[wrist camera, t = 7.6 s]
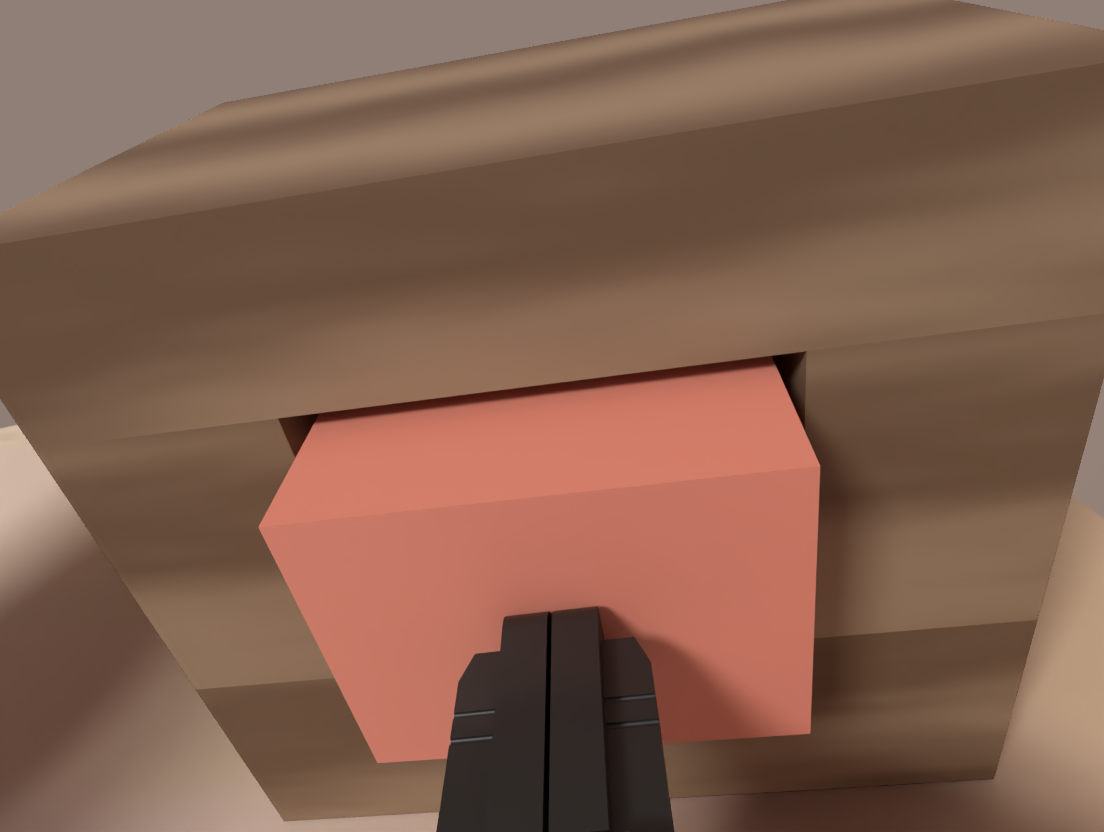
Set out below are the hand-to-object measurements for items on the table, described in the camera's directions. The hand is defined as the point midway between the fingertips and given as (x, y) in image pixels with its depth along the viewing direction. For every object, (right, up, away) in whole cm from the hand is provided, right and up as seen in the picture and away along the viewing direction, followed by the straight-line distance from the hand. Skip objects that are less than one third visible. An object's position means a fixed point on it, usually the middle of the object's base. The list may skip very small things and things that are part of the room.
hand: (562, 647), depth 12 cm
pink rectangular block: (+1, -1, +4) cm, 4 cm away
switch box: (+2, -3, +12) cm, 12 cm away
